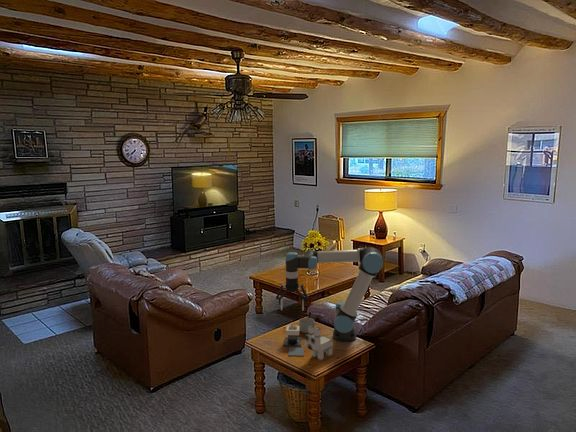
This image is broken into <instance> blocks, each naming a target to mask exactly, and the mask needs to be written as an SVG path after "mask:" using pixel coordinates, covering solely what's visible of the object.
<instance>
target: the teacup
mask: <svg viewBox="0 0 576 432" xmlns="http://www.w3.org/2000/svg"><path fill="white" fill-rule="evenodd" d="M315 321H316V320H315V319H314V318H311V317H308V316H305V317H302V318H299V319H298V326H300V331H299V332H301V333H302V334H308V326H309V325H314V328H316V326H315Z"/></svg>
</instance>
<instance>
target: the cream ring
mask: <svg viewBox="0 0 576 432" xmlns="http://www.w3.org/2000/svg"><path fill="white" fill-rule="evenodd" d="M291 325H292V324H291ZM291 325H290V324H289V325H286V328H285V336H288V335H298V336H300V332H301V331H300V326H299V325H295V330H291Z"/></svg>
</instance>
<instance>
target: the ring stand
mask: <svg viewBox="0 0 576 432" xmlns="http://www.w3.org/2000/svg"><path fill="white" fill-rule="evenodd" d="M295 326H296V325H294V324H291V330H295ZM302 343H303V337H299V335H287V337H286V336H285V338H284V341H283V347H287V348H288V347H289V348H290V347H296V348H302Z"/></svg>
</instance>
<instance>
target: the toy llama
mask: <svg viewBox="0 0 576 432" xmlns="http://www.w3.org/2000/svg"><path fill="white" fill-rule="evenodd" d="M304 338H305V339H304V342H305V346H304V348H306V349H309V350H310V351H311V357H312V358H314V359H315V358H317V360H318V361H320V362H321V361H323V360H324V359H325V358H324V354H326V355H325V356H328V358H329V357H331V356H333V339H332V338H331V337H328V336H326V335H321V328H320V327H316V326H315V328H314V325H309V326H308V333H306V334H305V335H304Z"/></svg>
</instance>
